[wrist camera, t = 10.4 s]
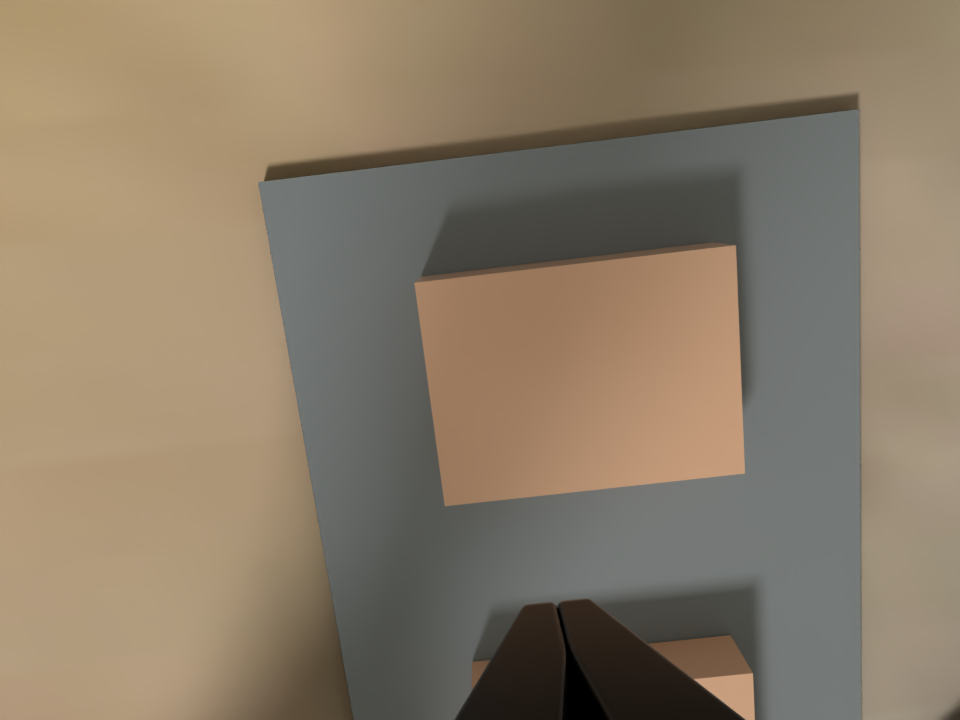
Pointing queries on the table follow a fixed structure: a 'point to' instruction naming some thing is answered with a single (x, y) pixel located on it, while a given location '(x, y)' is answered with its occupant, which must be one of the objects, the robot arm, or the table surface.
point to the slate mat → (605, 512)
